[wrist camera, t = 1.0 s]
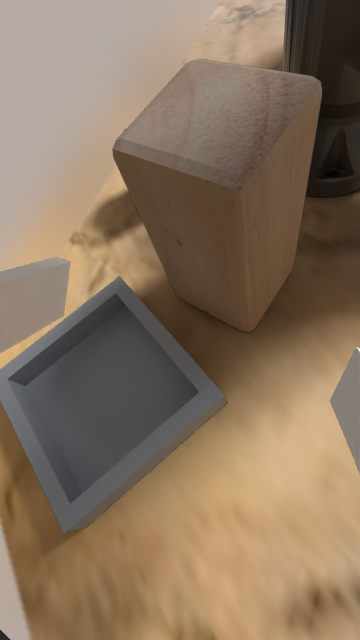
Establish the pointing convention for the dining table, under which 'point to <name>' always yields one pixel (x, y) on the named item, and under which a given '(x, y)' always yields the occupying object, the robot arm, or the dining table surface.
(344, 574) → the dining table surface
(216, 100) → the wooden block
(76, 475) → the gray square tray
